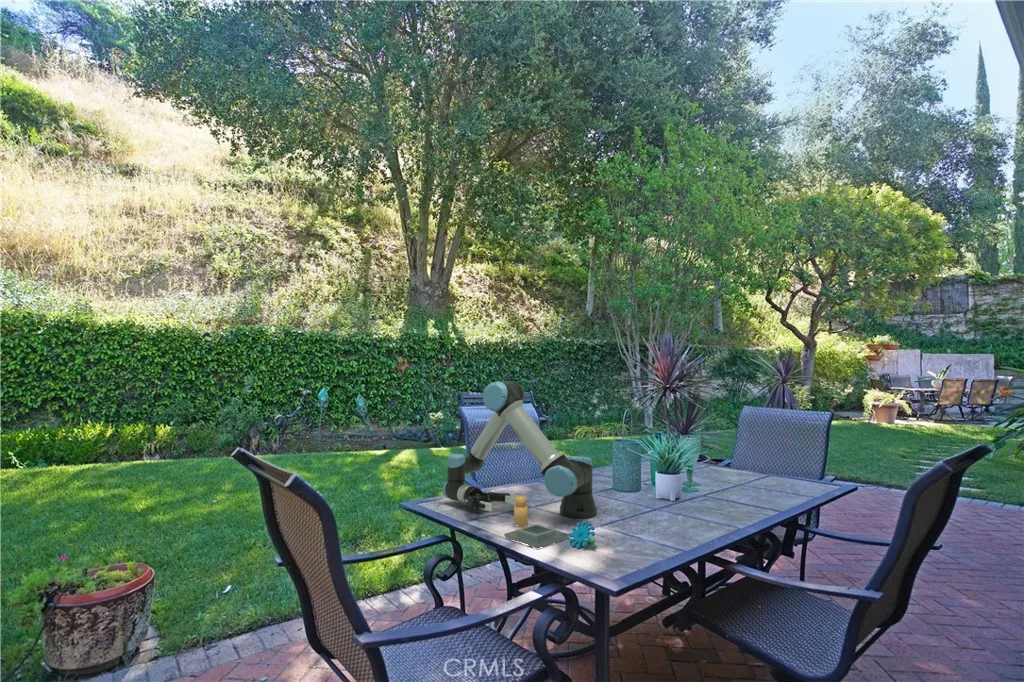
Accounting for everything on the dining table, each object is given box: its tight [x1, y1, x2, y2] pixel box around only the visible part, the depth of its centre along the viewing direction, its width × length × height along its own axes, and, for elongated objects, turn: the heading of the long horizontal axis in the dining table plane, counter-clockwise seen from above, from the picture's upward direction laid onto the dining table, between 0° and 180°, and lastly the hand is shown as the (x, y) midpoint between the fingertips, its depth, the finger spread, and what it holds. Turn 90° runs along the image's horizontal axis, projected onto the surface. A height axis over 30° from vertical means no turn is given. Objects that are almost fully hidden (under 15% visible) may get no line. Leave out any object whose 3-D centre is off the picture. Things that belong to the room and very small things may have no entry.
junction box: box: [503, 523, 570, 549], centre depth 189 cm, size 16×16×3 cm
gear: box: [568, 520, 598, 550], centre depth 182 cm, size 11×6×10 cm
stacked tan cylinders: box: [513, 495, 529, 526], centre depth 205 cm, size 5×5×10 cm
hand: (504, 504), depth 211 cm, fingers open, 13 cm apart
